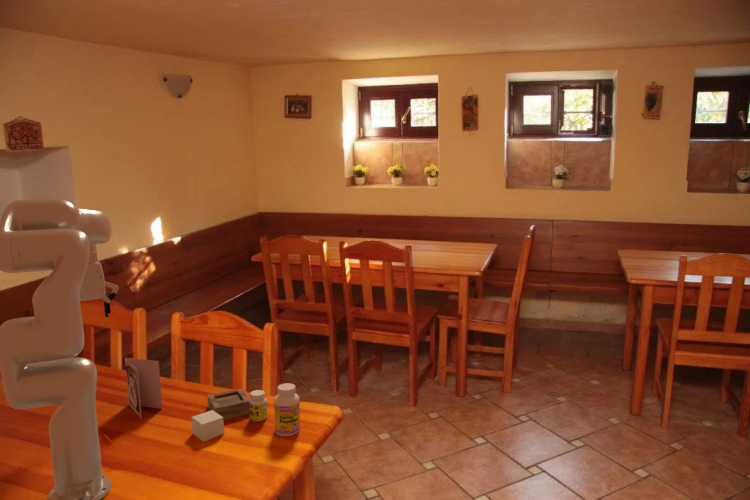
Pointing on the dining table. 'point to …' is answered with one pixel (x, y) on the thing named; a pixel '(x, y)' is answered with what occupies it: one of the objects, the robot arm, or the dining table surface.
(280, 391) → the supplement bottle
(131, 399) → the greeting card
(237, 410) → the walnut tray
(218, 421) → the beige block
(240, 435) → the dining table surface
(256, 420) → the supplement bottle
